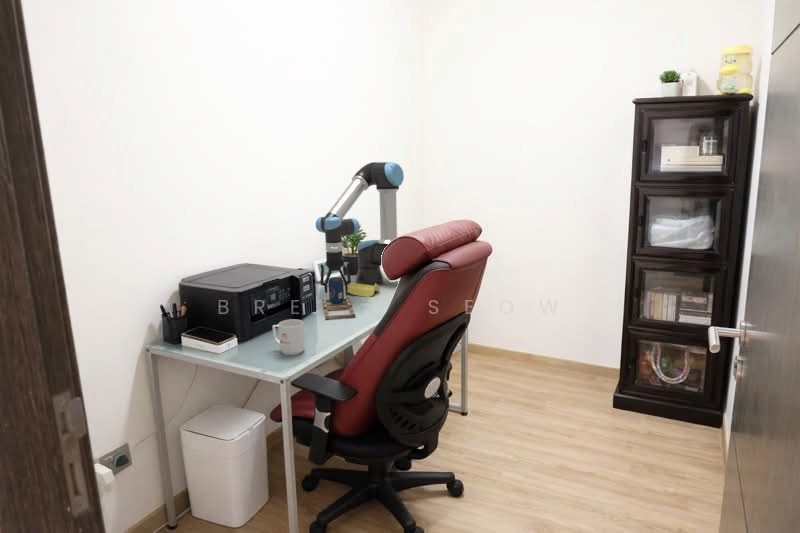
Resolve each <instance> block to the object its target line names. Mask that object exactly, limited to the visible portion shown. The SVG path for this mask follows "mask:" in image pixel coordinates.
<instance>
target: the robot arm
mask: <svg viewBox="0 0 800 533" xmlns="http://www.w3.org/2000/svg"><path fill="white" fill-rule="evenodd" d="M404 176H405V175H404V171H403V168H402V167H401V166H400V164H399V163H397V162H391V161H389V162H388V161H384V162H383V161H382V162H381V161H371V162H369V163H367V164H365V165H363V166H362V167H361V168H360V169H359V170H357V172H355V174H354V175H353V176H352V177H351V182H350V184H348V186H347V187H346V188H345V190H344V191H343V192H342V194H341V195H340V196H339V198H338V199H337V200H336V202H334V204H333V205H332V207H330V209H329V211H328V212H327V214H325V216H321V217H320V216H319V217H318V218H317V219H316V221H315V228H316V230H317V232H319V233H323V234H324V235H325V236H324V237H325V251H326V252H325V254H326V258H325V260H326V261H325V262H324V263H320V265H319V266H320V285H321V286H324V293H325V294H326V293H327V294H326V295H327V299H328V300H330V299H329V285H328V282H329V280H330V278H331V276H332V272H337V271H338V272H339V274H340V277H341V278H342V280H343V281H344V283H345V284H343V289H344V299H346V298H347V297H346V291H348V288H347V285H348V284H349V283H352V278H351V274H350V272H351V271H350V265H351V264H350V262H349V261H347V262H345V261H344V258H343V251H342V250H343V237H347V236H351V235H355V234H357V233H358V232H359V231H360V222H359V221H358V219H357V218H345V216H346V214H348V212H349V211H350V210H351V208H352V207H353V206H354V204H355V203H356V201H357V200H358V199H359V198H360V196H361V195H362V194H363V192H364V191H367V190H368V189H369V187H372V186H376V187H375V188H376V190H377V191H378V193H379V227H380V228H379V230H380V233H379V234H380V239H370V240H363V241H360V242H359V243H358V244H357V261H358V264H357V265H358V270H357V273H356V278H355V283H358V284H365V285H373V286H374V285H375V284H378V285H379V286H380V285H382V284H383V283H385V282H384V276H383V272H382V270H381V267H382V266H381V255H382V252H383V250H384V248H385V247H386V246H387V245H388V244H389V243H390V242H391V241H392V240H394V239H395V238H397V239H398V223H397V222H398V220H397V219H398V218H397V217H398V216H397V213H398V212H397V211H398V210H397V192H398V191H399V190H400V186H401V185H402V184H403V182H404V178H405V177H404ZM343 266H344V267H345V270H346V276H347V279H346V277H345V274H344V273H343V271H342V267H343ZM326 267H327V268H328V271H327V275H326V278H325V269H326ZM324 278H325V280H324Z"/></svg>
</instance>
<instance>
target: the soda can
mask: <svg viewBox="0 0 800 533" xmlns="http://www.w3.org/2000/svg"><path fill="white" fill-rule="evenodd" d="M342 280H343V279H342V276H335V277H334V276H333V277H330V278H329V281H328V284H327V285H329V299H330V300H329V301H330V305H332V306H338V305H343V303H344V302H345V301H344V289H343V281H342Z"/></svg>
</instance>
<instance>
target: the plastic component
mask: <svg viewBox="0 0 800 533" xmlns="http://www.w3.org/2000/svg"><path fill="white" fill-rule="evenodd" d="M342 281H343V279H342ZM343 284H345V283H344V281H343ZM347 288H348V291H345V293H346V292H347V293H349V294H351V295H353V296H358V297H365V298H371V297H372V296H374V294H375V293H379V291H380V284H379V285H378V284H375V285H365V284H358V283H356V282H351V283H349V284H348V285H347Z"/></svg>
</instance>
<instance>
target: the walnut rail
mask: <svg viewBox="0 0 800 533" xmlns="http://www.w3.org/2000/svg"><path fill="white" fill-rule="evenodd" d="M346 301H347V302H346ZM327 302H330V301H329V300H328V298H324V299H322V300H321V303H322V307H323V313H324V318H325V321H329V320H330V321H331V320H332V321H333V320H341V319H342V318H345V319H355V318H356V313H355V311H354V308H353V305H352V303H351V300H350V298H349V297H346V299H344V301H343V302H346V304H339V305H328V306H327V304H328V303H327ZM347 304H348V305H347ZM347 309H349V310H350V311H349V310H347ZM337 310H338V311H349V312H350V313H346V314H337V315H336V314H335V315H334V314H333V315H329V312H338V311H337Z"/></svg>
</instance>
